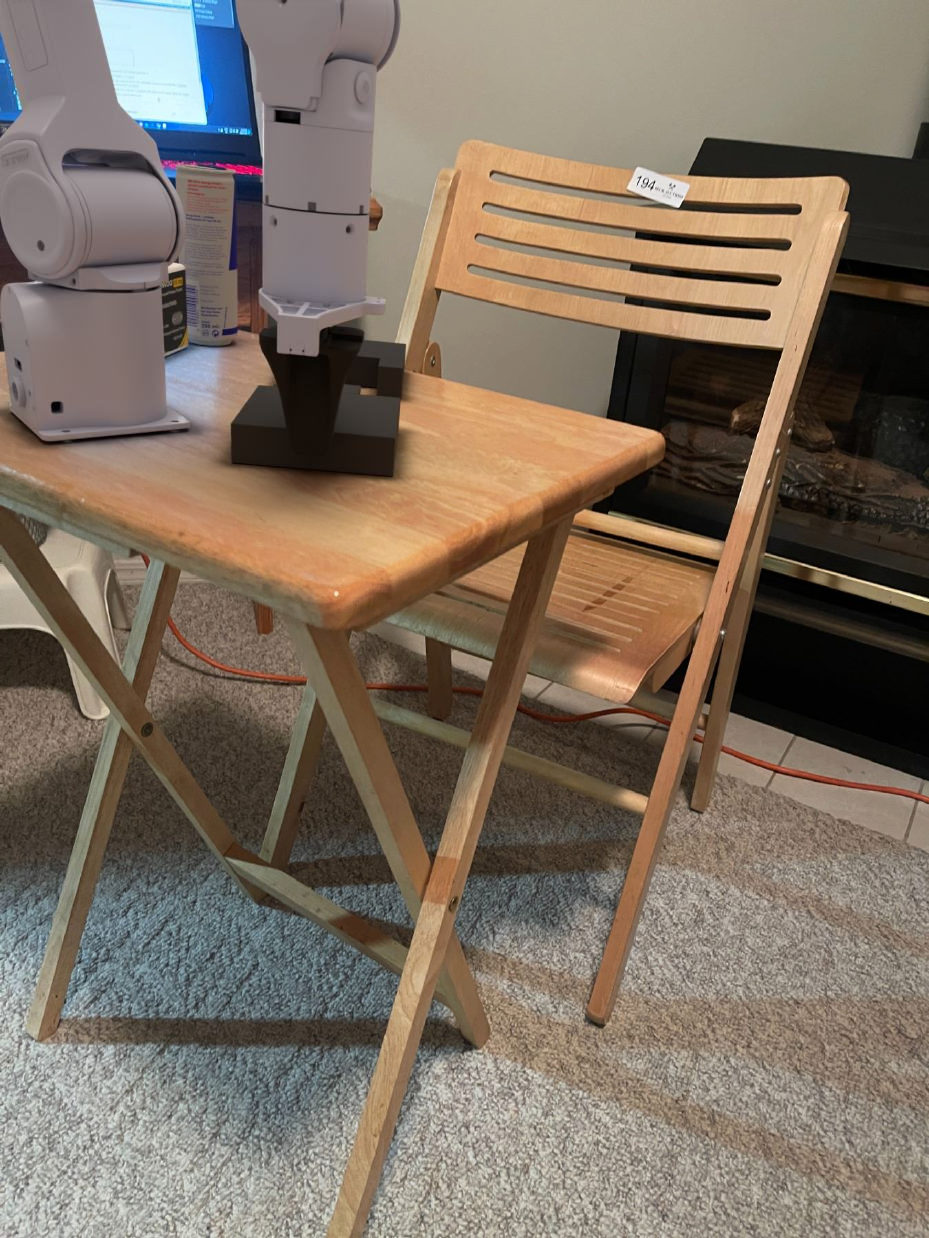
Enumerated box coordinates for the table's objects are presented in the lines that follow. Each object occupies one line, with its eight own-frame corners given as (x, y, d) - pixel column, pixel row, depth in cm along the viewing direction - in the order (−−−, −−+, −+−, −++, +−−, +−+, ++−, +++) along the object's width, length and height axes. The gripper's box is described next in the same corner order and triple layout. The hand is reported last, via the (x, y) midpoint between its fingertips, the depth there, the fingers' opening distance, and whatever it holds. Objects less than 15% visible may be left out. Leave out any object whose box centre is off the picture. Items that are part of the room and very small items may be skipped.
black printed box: (153, 363, 78) (145, 207, 73) (73, 352, 79) (59, 197, 74) (189, 347, 85) (184, 203, 79) (115, 337, 85) (105, 194, 80)
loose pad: (392, 476, 58) (395, 437, 57) (230, 462, 58) (230, 423, 57) (399, 423, 70) (402, 389, 68) (264, 410, 69) (264, 376, 68)
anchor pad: (401, 399, 76) (403, 368, 75) (276, 388, 75) (276, 356, 74) (404, 371, 85) (406, 343, 84) (293, 361, 84) (293, 333, 83)
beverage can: (245, 339, 90) (243, 167, 83) (227, 349, 86) (224, 168, 79) (193, 333, 90) (187, 161, 83) (173, 343, 86) (165, 162, 79)
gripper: (384, 228, 44) (369, 498, 50) (395, 208, 57) (382, 425, 63) (233, 212, 44) (237, 487, 50) (279, 195, 57) (277, 416, 63)
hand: (310, 452), depth 57 cm, fingers closed
